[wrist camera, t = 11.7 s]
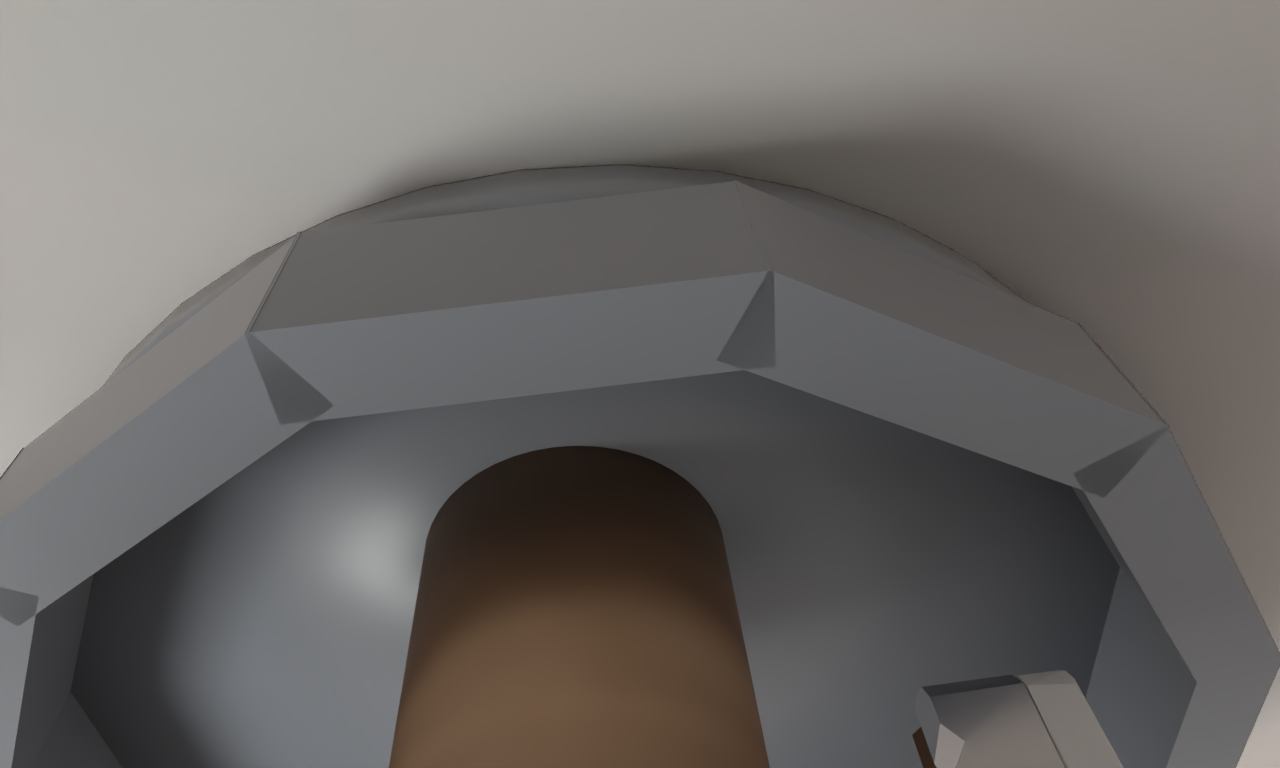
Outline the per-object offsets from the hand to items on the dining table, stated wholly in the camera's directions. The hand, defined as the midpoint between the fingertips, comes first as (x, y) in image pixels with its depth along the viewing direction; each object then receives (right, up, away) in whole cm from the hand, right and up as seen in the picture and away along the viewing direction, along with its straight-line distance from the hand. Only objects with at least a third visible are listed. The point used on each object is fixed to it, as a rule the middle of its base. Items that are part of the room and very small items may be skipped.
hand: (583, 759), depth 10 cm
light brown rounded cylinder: (0, +2, +3) cm, 3 cm away
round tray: (0, -1, +5) cm, 5 cm away
